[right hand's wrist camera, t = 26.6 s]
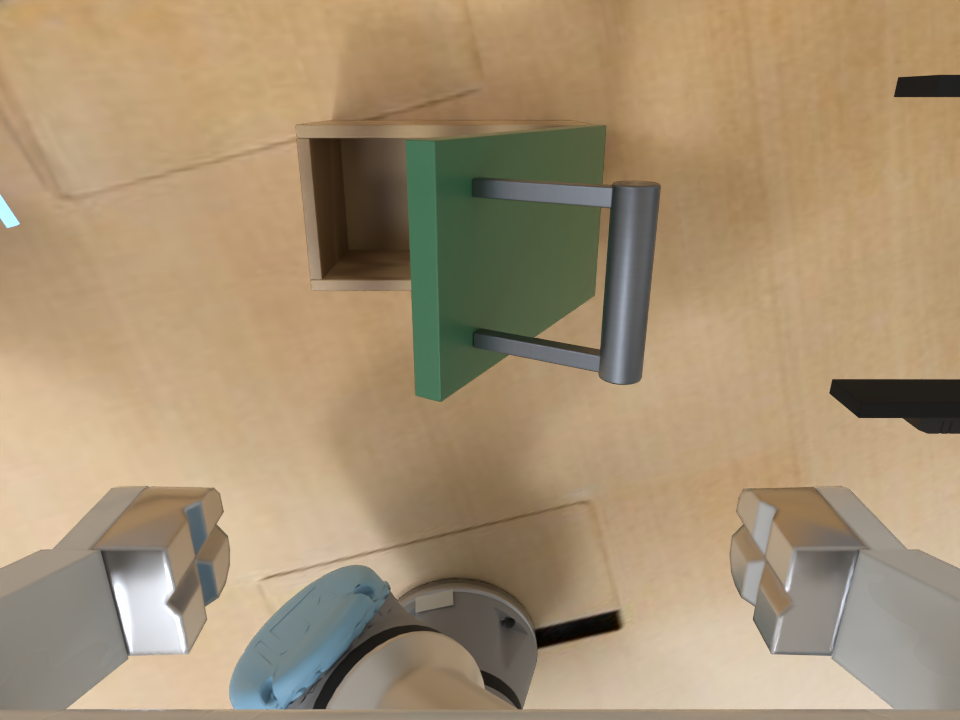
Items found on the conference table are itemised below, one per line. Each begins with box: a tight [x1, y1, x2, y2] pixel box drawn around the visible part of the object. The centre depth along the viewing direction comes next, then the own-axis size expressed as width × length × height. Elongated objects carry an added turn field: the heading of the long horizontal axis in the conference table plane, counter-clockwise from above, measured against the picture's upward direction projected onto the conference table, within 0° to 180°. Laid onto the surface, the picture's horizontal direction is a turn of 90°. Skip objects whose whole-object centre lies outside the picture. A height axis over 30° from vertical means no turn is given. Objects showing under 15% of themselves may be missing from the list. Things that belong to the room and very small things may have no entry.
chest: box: [296, 120, 591, 291], centre depth 44 cm, size 17×10×10 cm, turn 90°
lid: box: [405, 125, 661, 402], centre depth 30 cm, size 18×10×8 cm
